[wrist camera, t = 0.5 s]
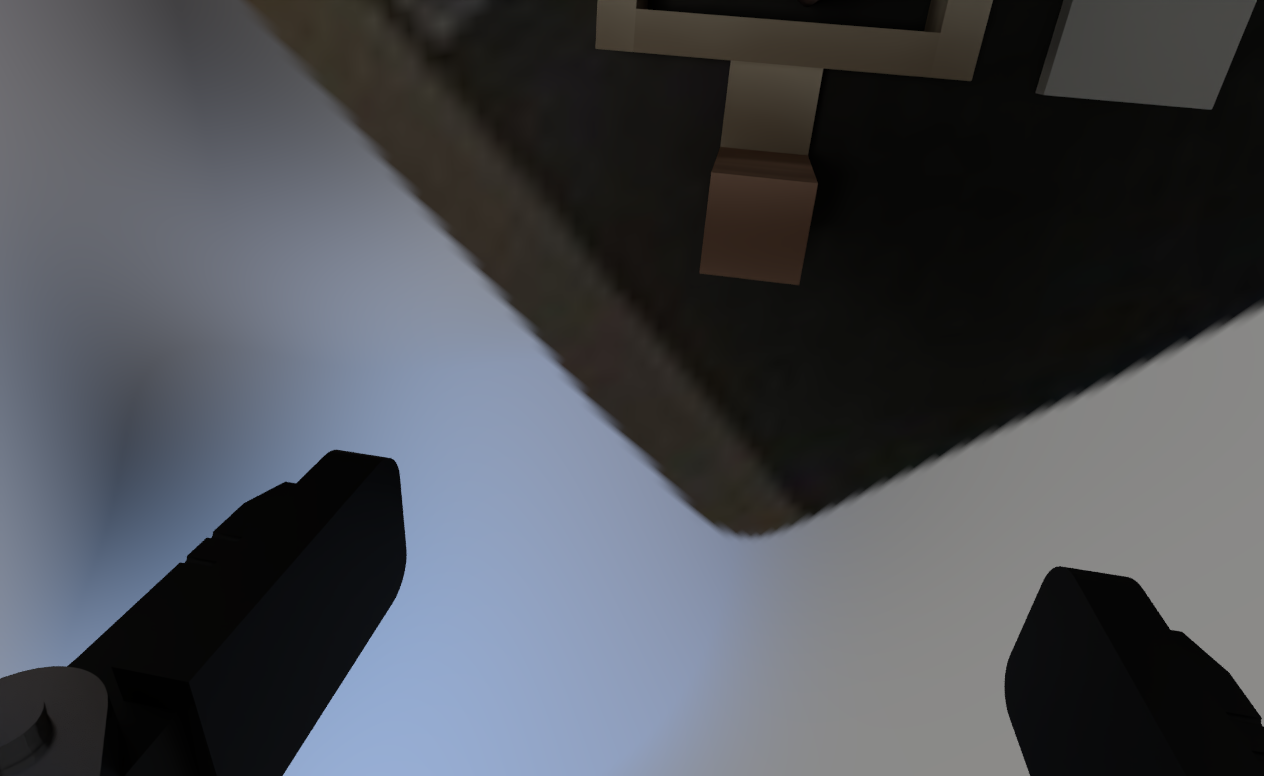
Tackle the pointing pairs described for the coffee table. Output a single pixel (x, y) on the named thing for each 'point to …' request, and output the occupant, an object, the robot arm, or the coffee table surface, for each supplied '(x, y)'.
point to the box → (807, 2)
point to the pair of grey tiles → (1144, 50)
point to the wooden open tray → (782, 110)
